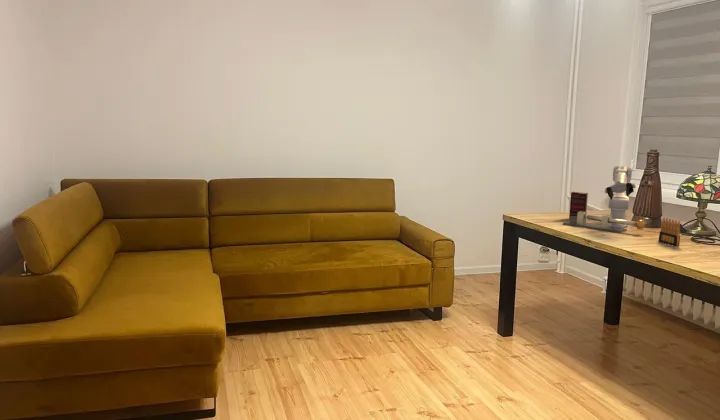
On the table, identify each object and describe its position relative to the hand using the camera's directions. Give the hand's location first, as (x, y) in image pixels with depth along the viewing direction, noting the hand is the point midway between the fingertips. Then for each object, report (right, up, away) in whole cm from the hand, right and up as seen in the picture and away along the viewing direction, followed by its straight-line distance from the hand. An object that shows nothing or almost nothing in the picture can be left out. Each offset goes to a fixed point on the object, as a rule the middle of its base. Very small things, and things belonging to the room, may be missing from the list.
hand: (618, 196), depth 277 cm
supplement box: (-5, -13, +40) cm, 43 cm away
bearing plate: (-5, -16, +18) cm, 25 cm away
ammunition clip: (+15, -23, -19) cm, 33 cm away
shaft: (+2, -15, +11) cm, 19 cm away
